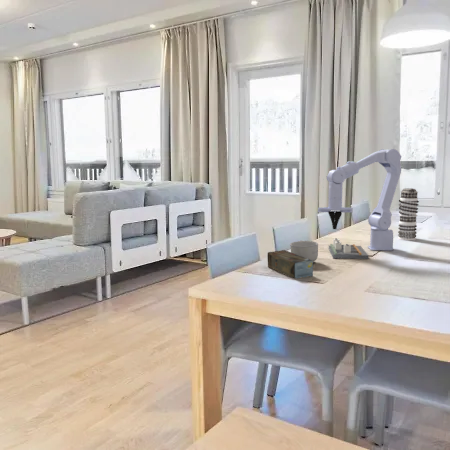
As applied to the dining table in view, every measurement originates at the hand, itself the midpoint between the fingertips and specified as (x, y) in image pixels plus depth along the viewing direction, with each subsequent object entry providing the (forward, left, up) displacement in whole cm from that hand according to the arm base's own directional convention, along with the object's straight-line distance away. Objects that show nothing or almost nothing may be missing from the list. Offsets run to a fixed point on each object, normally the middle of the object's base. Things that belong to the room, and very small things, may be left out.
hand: (334, 228), depth 201 cm
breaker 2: (-1, +4, -8) cm, 9 cm away
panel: (-5, +4, -10) cm, 12 cm away
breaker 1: (-1, -2, -8) cm, 9 cm away
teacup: (+14, +21, -10) cm, 27 cm away
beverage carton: (+20, +37, -10) cm, 44 cm away
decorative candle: (-39, -34, -10) cm, 53 cm away
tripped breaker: (-4, +11, -8) cm, 14 cm away
